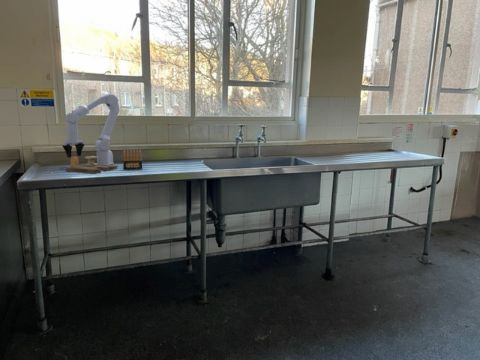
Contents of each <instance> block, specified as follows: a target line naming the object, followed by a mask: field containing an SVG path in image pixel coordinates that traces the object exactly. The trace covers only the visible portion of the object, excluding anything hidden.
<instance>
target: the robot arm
mask: <svg viewBox="0 0 480 360" xmlns="http://www.w3.org/2000/svg"><path fill="white" fill-rule="evenodd" d="M102 104H103V105H106V106H107V108H108V109H109V113H108V115H107V118H106V120H105V123H104V126H103V129H102V131H101V134H100V135H99V136H98V138H97V140H95V143H94V145H95V147H96V164H105V165H115V162H114V154H113V151H111V150H110V146H111V144H110V142H111V135H112V131H113V129H114V126H115V125H116V120H117V118H118V115H119V112H120V106H119V99H118V96H116V94H115V93H105V94H103V95H100V96H98V97H97V98H95V99H94V100H92V101H91V102H89V103H88V104H87V105H84V104H82V105H78V106H77V108H76V109H74V110H71V112H68V113H67V114H66V115H65V118H64V119H65V121H66V133H67V140H66V141H62V142H61V143H62V144H61V145H62V148H63V150H64V152H65V154H66V157H67V158H71V157H72V149H73V145H74V146H75V150H76V157H81V156H82V152H83V149H84V147H85V143H84V140H82V139H79V127H78V121H80V120H81V119H82V118H84V117H85V116H87V115H88V114H89V113H90V111H91V110H93V109H94V108H97V106H99V105H102Z"/></svg>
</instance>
